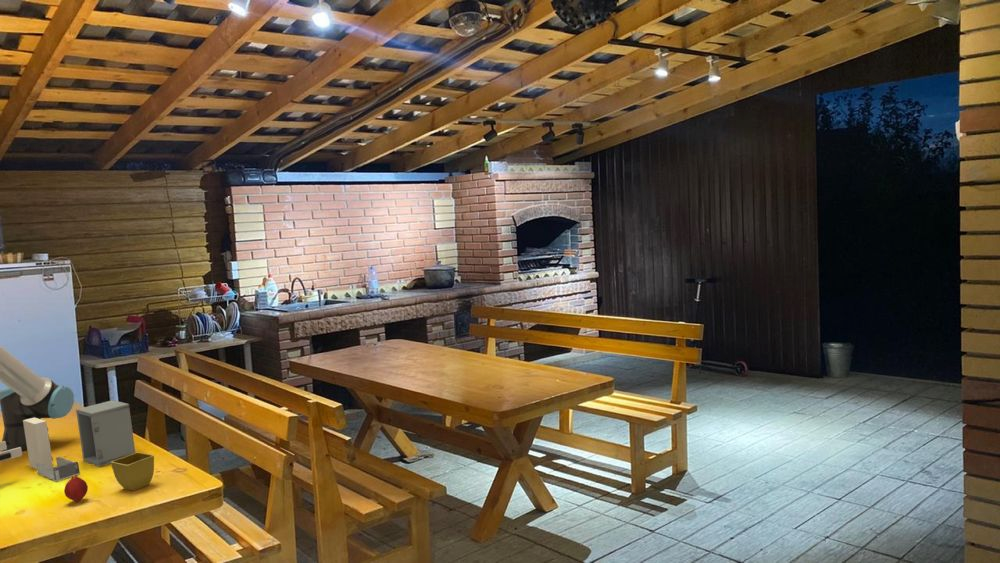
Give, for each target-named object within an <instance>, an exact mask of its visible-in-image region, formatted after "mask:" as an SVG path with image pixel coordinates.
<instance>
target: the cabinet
mask: <svg viewBox="0 0 1000 563" xmlns="http://www.w3.org/2000/svg"><path fill="white" fill-rule="evenodd" d="M75 411H76V418H77V425H78V431H79V432H78V433H79V438H80V439H79V440H80V446H81V452H82V453H81V454H82V460H83V462H84V461H86V462H85V463H87V462H88V464H90V463H91V464H90V465H92V464H93V466H95V465H96V467H98V468H101V467H104V466H107V465H111V462H112V461H114V460H117V459H120V458H123V457H126V456H128V455H131V454H133V453H136V448H135V440H134V434H133V425H132V419H131V411H130V403H125V402H123V401H117V400H108V401H103V402H101V403H95V404H92V405H88V406H85V407H80V408H77V409H76V410H75Z"/></svg>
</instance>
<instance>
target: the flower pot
mask: <svg viewBox="0 0 1000 563" xmlns="http://www.w3.org/2000/svg"><path fill="white" fill-rule="evenodd" d="M110 465H111V468H112V471H113V474H114V478H115V479H116V481H117V482H118V484H119V485H120V486H121V487H122V488H123V489H125V490H129V491H133V492H134V491H137V490H140V489H142V488H145V487H146V486H147V487H148V486H149V485H150V483H151V482H152V479H153V477H154V472H155V455H154V454H151V453H150V454H149V453H145V452H139V451H138V452H136V451H135V453H133V454H131V455H128V456H126V457H123V458H120V459H117V460H114V461H112V462H111V463H110Z"/></svg>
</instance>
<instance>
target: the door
mask: <svg viewBox="0 0 1000 563" xmlns="http://www.w3.org/2000/svg"><path fill="white" fill-rule="evenodd" d="M23 424H24V431H25V437H26V444H27V450H26V451H27V456H28V464H29V467H30V466H31V467H30V468H32V467H33V468H32V469H36V470H37V465H36V463H39V462H40V463H42V464H45V465H47V466H50V467H52V468H53V467H54V463H53V460H54V459H53V455H52V450H51V444H50V441H49V439H50V435H49V436H48V434H49V427H48V423H47V420H44V419H42V418H41V419H38V418H35V417H34V418H30V419H26V420H23Z"/></svg>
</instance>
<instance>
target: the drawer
mask: <svg viewBox="0 0 1000 563" xmlns="http://www.w3.org/2000/svg"><path fill="white" fill-rule="evenodd" d="M55 461H56V466H53V468H52V467H50V466H47V465H45V464H42V463H40V462H39V463H36V465H37V469H36V472H37V474H38V475H40V476H42V477H43V478H47V479H49V480H52V481H54V482H56V483H57V482H61V481H64V480H66V478H67V479H69V477H70V478H71V477H72V476H73V475H77V476H79V475H78V474H80V475H81V472H80V467H79V466H80V465H79V462H78V461H72V460H70V459H67V458H63V457H61V456H57V457H55ZM63 479H64V480H63ZM60 480H61V481H60Z"/></svg>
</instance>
